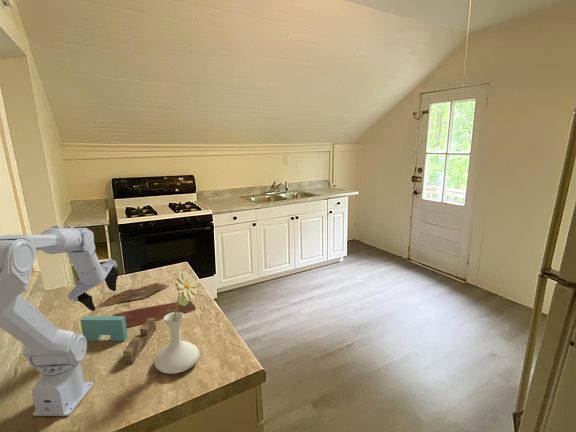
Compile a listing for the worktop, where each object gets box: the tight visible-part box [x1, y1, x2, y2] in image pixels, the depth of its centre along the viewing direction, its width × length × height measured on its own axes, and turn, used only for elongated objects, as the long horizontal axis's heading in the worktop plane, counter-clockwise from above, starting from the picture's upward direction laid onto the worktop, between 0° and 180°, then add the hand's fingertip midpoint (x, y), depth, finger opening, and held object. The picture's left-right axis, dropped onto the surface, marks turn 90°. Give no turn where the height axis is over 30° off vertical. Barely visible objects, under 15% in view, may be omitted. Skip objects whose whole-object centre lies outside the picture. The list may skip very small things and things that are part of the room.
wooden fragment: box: [95, 282, 170, 309], centre depth 123 cm, size 26×11×1 cm, turn 128°
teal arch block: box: [79, 315, 128, 342], centre depth 96 cm, size 12×2×7 cm, turn 90°
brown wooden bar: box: [122, 318, 157, 365], centre depth 93 cm, size 16×2×4 cm, turn 0°
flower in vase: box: [154, 271, 201, 375], centre depth 84 cm, size 13×11×25 cm
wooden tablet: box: [111, 300, 196, 329], centre depth 110 cm, size 27×10×2 cm, turn 117°
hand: (102, 299), depth 94 cm, fingers open, 7 cm apart
